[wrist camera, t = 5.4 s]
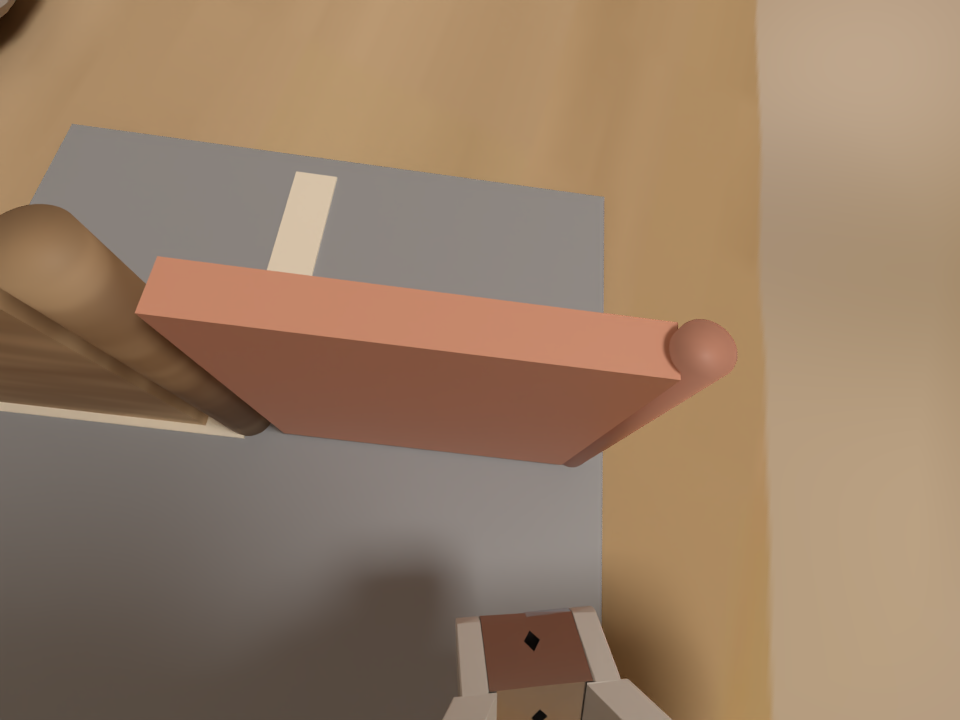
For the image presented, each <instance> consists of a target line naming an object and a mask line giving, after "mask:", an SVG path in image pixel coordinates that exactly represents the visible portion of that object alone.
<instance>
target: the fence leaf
mask: <svg viewBox="0 0 960 720" xmlns="http://www.w3.org/2000/svg"><path fill="white" fill-rule="evenodd" d="M135 314H136V315H138V316H139V317H140V318H141V319H142V320H144V321H145V322H146V323H147V324H149V325H150V326H151V327H152V328H154V329H155V330H156V331H157V332H159V333H160V334H161V335H162V336H164V337H165V338H166V339H167V340H169V341H170V342H171V343H172V344H174V345H175V346H176V347H177V348H179V349H180V350H181V351H182V352H184V353H185V354H186V355H187V356H188V357H190V358H191V359H192V360H193V361H195V362H196V363H197V364H198V365H200V366H201V367H202V368H203V369H205V370H206V371H207V372H208V373H210V374H211V375H212V376H213V377H215V378H216V379H217V380H218V381H220V382H221V383H222V384H223V385H225V386H226V387H227V388H228V389H230V390H231V391H232V392H233V393H234V394H236V395H237V396H238V397H239V398H241V399H242V400H243V401H244V402H246V403H247V404H248V405H249V406H251V407H252V408H253V409H254V410H256V411H257V412H258V413H259V414H261V415H262V416H263V417H264V418H266V419H267V420H268V421H269V422H271V423H272V424H273V425H274V426H276V427H277V428H278V429H279V430H280V431H282V432H283V433H285V434H294V435H303V436H311V437H320V438H329V439H338V440H347V441H355V442H364V443H373V444H382V445H390V446H399V447H408V448H417V449H425V450H434V451H443V452H452V453H461V454H469V455H478V456H487V457H496V458H504V459H513V460H522V461H531V462H540V463H548V464H557V465H562V464H563V465H565V466H567V467H577V466H580V465H581V464H583V463H584V462H586V461H588V460H589V459H591V458H593V457H594V456H596V455H597V454H599V453H601V452H602V451H604V450H606V449H607V448H609V447H610V446H612V445H614V444H615V443H617V442H618V441H620V440H622V439H623V438H625V437H627V436H628V435H630V434H631V433H633V432H635V431H636V430H638V429H640V428H641V427H643V426H644V425H646V424H648V423H649V422H651V421H652V420H654V419H656V418H657V417H659V416H661V415H662V414H664V413H665V412H667V411H669V410H670V409H672V408H674V407H675V406H677V405H678V404H680V403H682V402H683V401H685V400H686V399H688V398H690V397H691V396H693V395H695V394H696V393H698V392H699V391H701V390H703V389H704V388H706V387H708V386H709V385H711V384H712V383H714V382H716V381H717V380H719V379H720V378H722V377H724V376H725V375H727V374H728V373H730V372H731V371H732V370H733V368H734V367H735V364H736V361H737V348H736V344H735V342H734V340H733V338H732V337H731V335H730V334H729V333H728V332H727V331H726V330H725V329H724V328H723V327H721V326H720V325H718V324H717V323H714V322H712V321H709V320H704V319H696V320H691V321H688V322H686V323H685V324H683V325H682V326H681V327H680V328H679V329H678V322H670V321H662V320H654V319H646V318H639V317H631V316H623V315H615V314H607V313H599V312H591V311H584V310H576V309H568V308H560V307H552V306H544V305H537V304H529V303H521V302H513V301H505V300H497V299H489V298H482V297H474V296H466V295H458V294H450V293H442V292H435V291H427V290H419V289H411V288H403V287H395V286H387V285H380V284H372V283H364V282H356V281H348V280H340V279H333V278H325V277H317V276H309V275H301V274H293V273H285V272H278V271H270V270H262V269H254V268H246V267H238V266H230V265H223V264H215V263H207V262H199V261H191V260H183V259H176V258H168V257H160V256H157V258H156V260H155V263H154V265H153V268H152V270H151V273H150V276H149V278H148V281H147V283H146V286H145V288H144V291H143V293H142V296H141V298H140V301H139V303H138V306H137V308H136V311H135Z"/></svg>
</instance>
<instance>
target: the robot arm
mask: <svg viewBox="0 0 960 720" xmlns="http://www.w3.org/2000/svg"><path fill="white" fill-rule="evenodd" d="M455 627H456V665H457V687H458V697H453V699H452V701H451V703H450V705H449V707H448V709H447V711H446V713H445V715H444V717H443V719H442V720H672V719H671V718H670V717H669V716H668V715H667V714H666V713H665V712H663V711H662V710H661V709H660V708H659V707H658V706H657V705H656V704H655V703H654V702H653V701H652V700H651V699H649V698H648V697H647V696H646V695H645V694H644V693H643V692H642V691H641V690H640V689H639V688H638V687H636V686H635V685H634V684H633V683H632V682H631V681H630V680H629V679H621V678H620V675H619V672H618V670H617V667H616V664H615V662H614V659H613V656H612V654H611V651H610V648H609V646H608V643H607V640H606V637H605V635H604V632H603V629H602V627H601V624H600V621H599V619H598V616H597V613H596V611H595V609H594V608H593V607H592V606H583V607H573V608H568V607H566V608H557V609H548V610H538V611H529V612H524V613H518V614H502V615H486V616H472V617H461V618H456V619H455Z"/></svg>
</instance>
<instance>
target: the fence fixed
mask: <svg viewBox="0 0 960 720" xmlns="http://www.w3.org/2000/svg"><path fill="white" fill-rule="evenodd" d="M145 286H146V283H145V282H143V281H142V280H141V279H140V278H139V277H138V276H137V275H136V274H135V273H134V272H133V271H132V270H131V269H130V268H129V267H127V266H126V265H125V264H124V263H123V262H122V261H121V260H120V259H119V258H118V257H117V256H116V255H115V254H114V253H113V252H111V251H110V250H109V249H108V248H107V247H106V246H105V245H104V244H103V243H102V242H101V241H100V240H99V239H98V238H97V237H95V236H94V235H93V234H92V233H91V232H90V231H89V230H88V229H87V228H86V227H85V226H84V225H83V224H82V223H81V222H79V221H78V220H77V219H76V218H75V217H74V216H73V215H72V214H71V213H70V212H68V211H67V210H65V209H63V208H60V207H57V206H54V205H49V204H32V205H25V206H21V207H18V208H14V209H12V210H10V211H7V212H5V213H3V214H1V215H0V402H6V403H15V404H23V405H32V406H41V407H50V408H58V409H67V410H76V411H85V412H94V413H102V414H111V415H120V416H129V417H137V418H146V419H155V420H164V421H173V422H181V423H190V424H199V425H206V423H207V420H208V417H209V416H210V417H211V418H213V419H214V420H216V421H218V422H219V423H221V424H223V425H224V426H226V427H228V428H229V429H231V430H232V431H234V432H236V433H238V434H240V435H244V436H253V435H257V434H259V433H261V432H263V431H264V430H265V429H266V428H267V427H268V426H269V425H270V423H271V422H269V421H268V420H267V419H266V418H264V417H263V416H262V415H261V414H259V413H258V412H257V411H256V410H254V409H253V408H252V407H251V406H249V405H248V404H247V403H246V402H244V401H243V400H242V399H241V398H239V397H238V396H237V395H236V394H234V393H233V392H232V391H231V390H230V389H228V388H227V387H226V386H225V385H223V384H222V383H221V382H220V381H218V380H217V379H216V378H215V377H213V376H212V375H211V374H210V373H208V372H207V371H206V370H205V369H203V368H202V367H201V366H200V365H198V364H197V363H196V362H195V361H193V360H192V359H191V358H190V357H188V356H187V355H186V354H185V353H184V352H182V351H181V350H180V349H179V348H177V347H176V346H175V345H174V344H172V343H171V342H170V341H169V340H167V339H166V338H165V337H164V336H162V335H161V334H160V333H159V332H157V331H156V330H155V329H154V328H152V327H151V326H150V325H149V324H147V323H146V322H145V321H144V320H142V319H141V318H140V317H139V316H138V315H136V314H135V311H136V308H137V306H138V303H139V301H140V298H141V296H142V293H143V291H144V288H145Z"/></svg>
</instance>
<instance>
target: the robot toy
mask: <svg viewBox="0 0 960 720" xmlns="http://www.w3.org/2000/svg"><path fill="white" fill-rule="evenodd" d="M15 1H16V0H0V18H1V17H2V16H3V15H4V14H6V13H7V12H8V10H9V9H10V8H11V6H12V5H13V4H14V2H15Z"/></svg>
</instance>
